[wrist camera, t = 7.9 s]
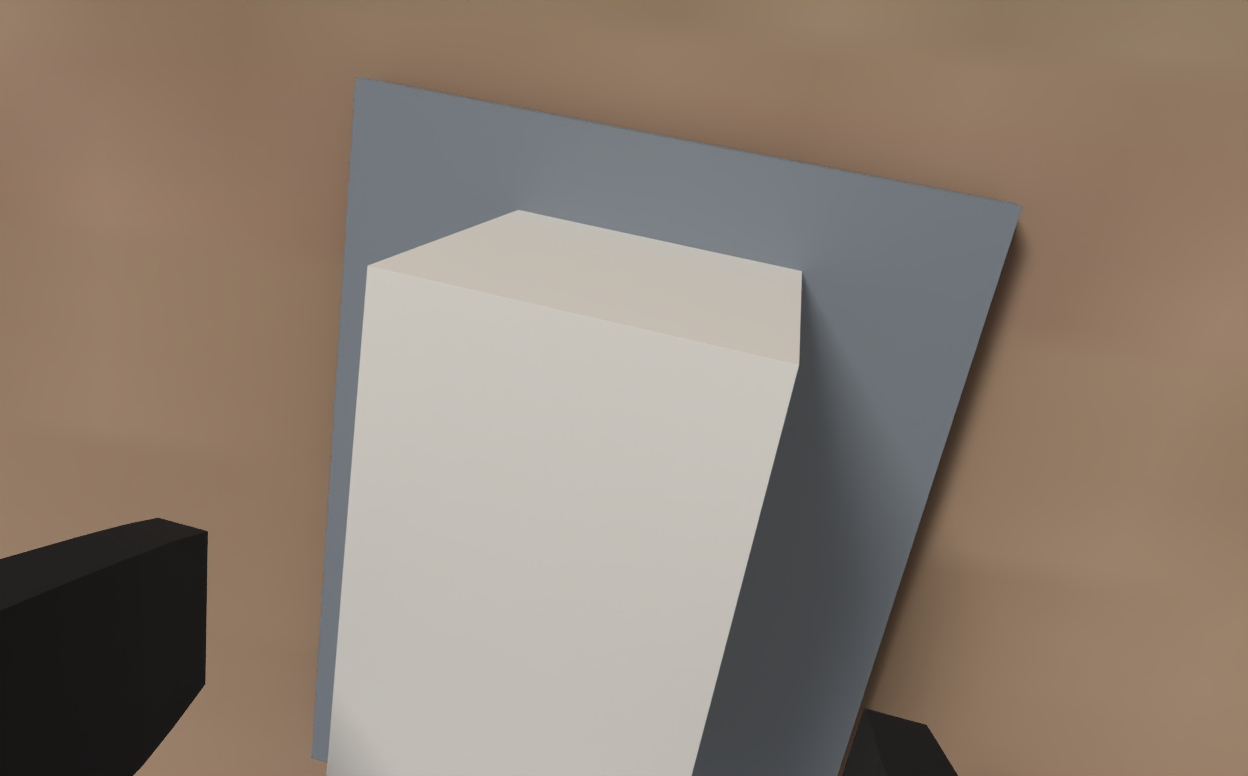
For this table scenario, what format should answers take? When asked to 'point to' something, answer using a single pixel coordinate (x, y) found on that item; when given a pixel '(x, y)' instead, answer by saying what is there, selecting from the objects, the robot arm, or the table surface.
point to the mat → (822, 393)
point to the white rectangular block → (552, 498)
